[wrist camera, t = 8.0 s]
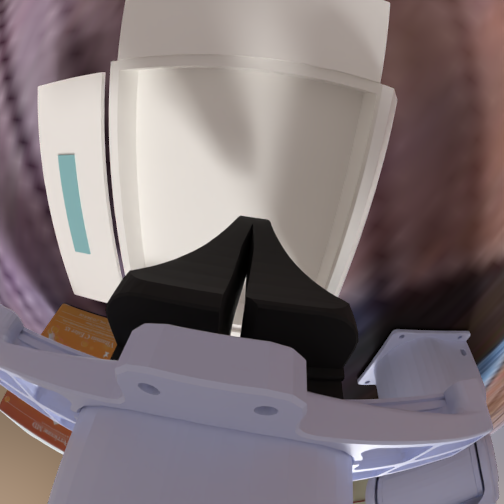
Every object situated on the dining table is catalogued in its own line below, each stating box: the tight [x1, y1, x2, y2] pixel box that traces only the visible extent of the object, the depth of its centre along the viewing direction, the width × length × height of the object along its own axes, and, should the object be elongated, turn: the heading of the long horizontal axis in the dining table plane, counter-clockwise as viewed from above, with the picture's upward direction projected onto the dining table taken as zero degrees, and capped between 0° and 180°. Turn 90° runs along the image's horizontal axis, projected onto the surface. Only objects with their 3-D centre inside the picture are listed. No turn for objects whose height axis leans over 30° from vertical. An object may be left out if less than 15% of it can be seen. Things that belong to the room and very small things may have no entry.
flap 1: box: [38, 72, 122, 303], centre depth 13 cm, size 4×14×1 cm, turn 174°
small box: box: [0, 304, 117, 454], centre depth 18 cm, size 8×6×13 cm
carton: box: [109, 0, 390, 337], centre depth 14 cm, size 12×23×2 cm, turn 174°
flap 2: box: [327, 85, 397, 297], centre depth 11 cm, size 4×14×1 cm
